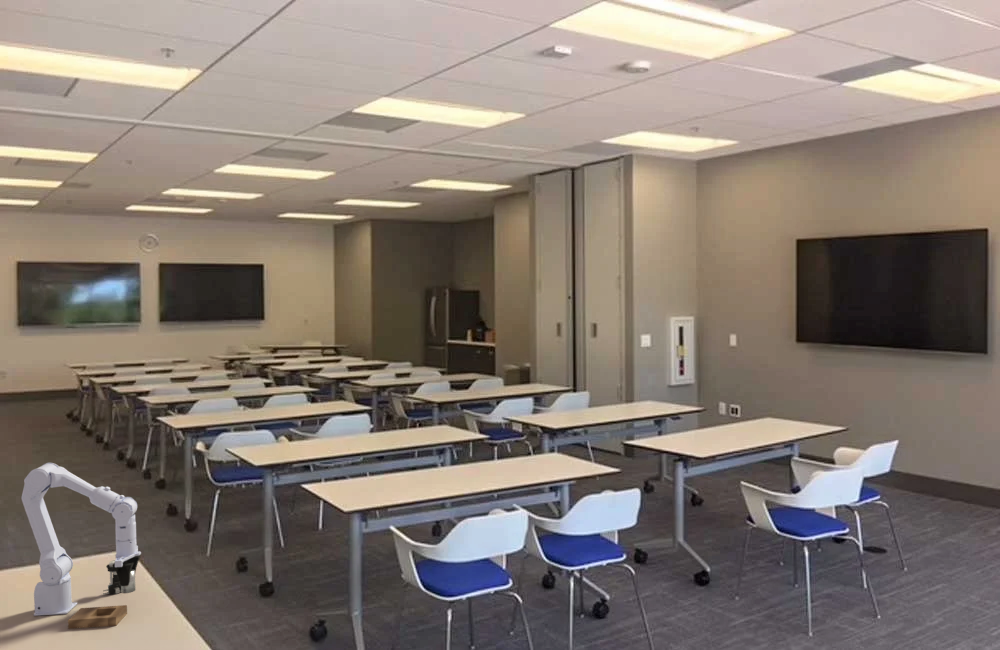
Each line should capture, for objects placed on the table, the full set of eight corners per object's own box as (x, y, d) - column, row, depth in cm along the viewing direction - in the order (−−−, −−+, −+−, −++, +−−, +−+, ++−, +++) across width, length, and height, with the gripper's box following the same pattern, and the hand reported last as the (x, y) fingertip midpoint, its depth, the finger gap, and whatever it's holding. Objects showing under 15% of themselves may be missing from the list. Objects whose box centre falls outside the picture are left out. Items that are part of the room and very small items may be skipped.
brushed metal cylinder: (119, 593, 245) (118, 574, 245) (123, 588, 249) (123, 569, 249) (133, 592, 245) (132, 573, 245) (137, 588, 249) (136, 568, 249)
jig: (68, 628, 230) (67, 620, 230) (81, 616, 239) (80, 608, 239) (116, 625, 231) (115, 617, 231) (127, 613, 240) (126, 605, 240)
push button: (104, 598, 253) (103, 566, 253) (101, 593, 258) (100, 562, 257) (127, 592, 257) (126, 561, 257) (124, 588, 262) (122, 557, 261)
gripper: (131, 545, 240) (133, 590, 240) (147, 531, 254) (148, 574, 255) (106, 546, 239) (108, 591, 240) (123, 532, 253) (125, 575, 254)
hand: (127, 582), depth 247 cm, fingers closed on brushed metal cylinder, 4 cm apart
